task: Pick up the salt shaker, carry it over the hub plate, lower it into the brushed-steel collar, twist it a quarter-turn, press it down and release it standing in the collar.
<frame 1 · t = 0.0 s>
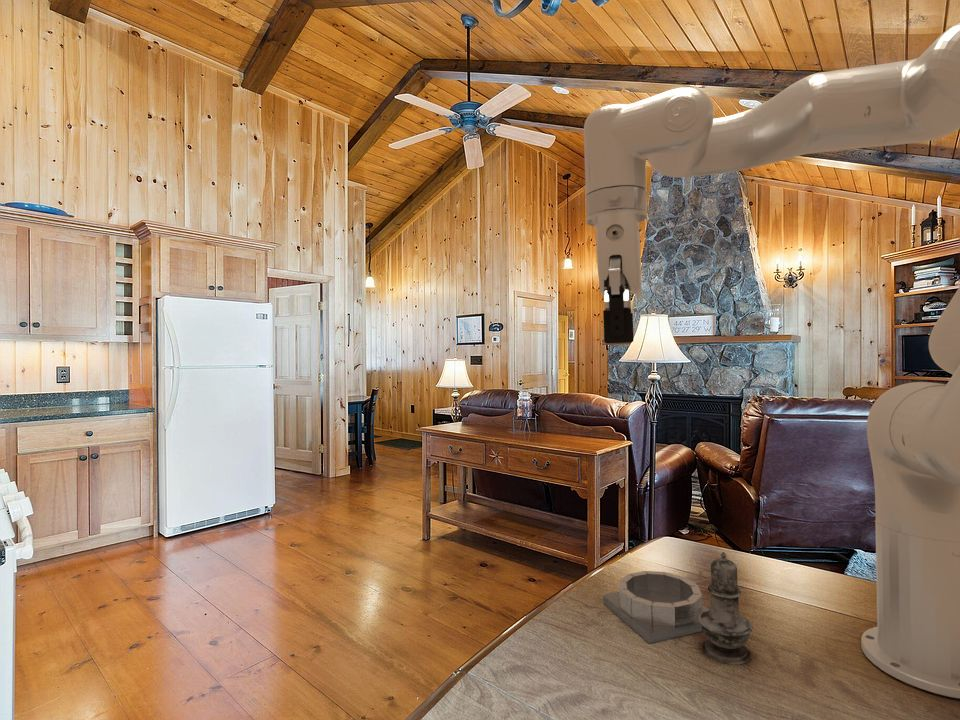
hand: (619, 342, 68), 37 cm above the table, tool pointing down, fingers open, 9 cm apart
salt shaker: (725, 652, 63), on the table
hub plate: (659, 614, 72), on the table
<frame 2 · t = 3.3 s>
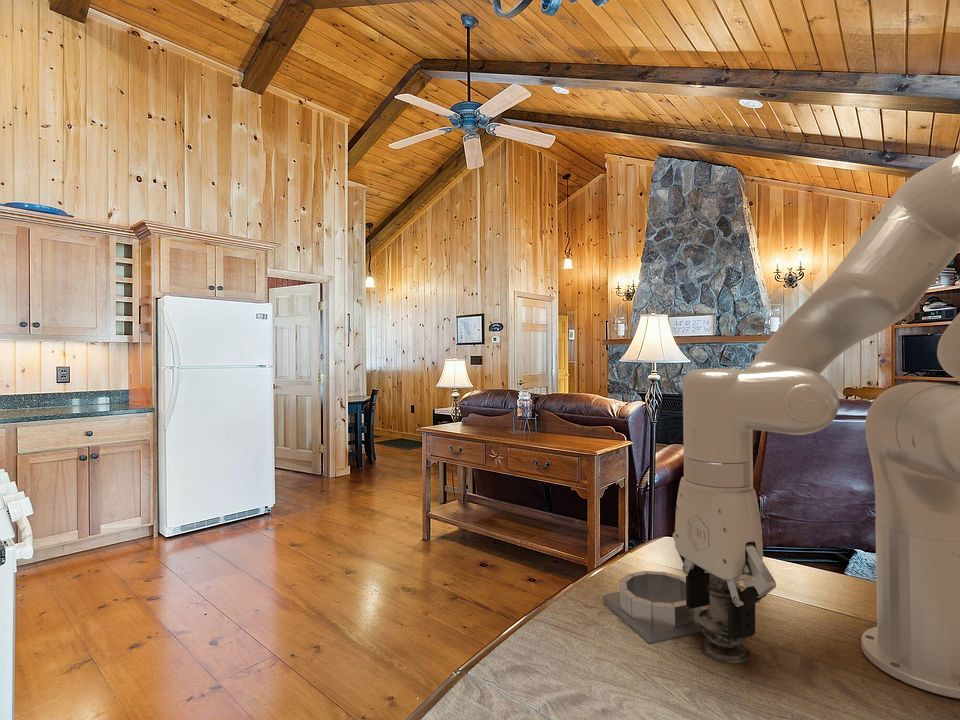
hand: (718, 619, 63), 4 cm above the table, tool pointing down, fingers open, 6 cm apart
salt shaker: (724, 651, 63), on the table, touching gripper
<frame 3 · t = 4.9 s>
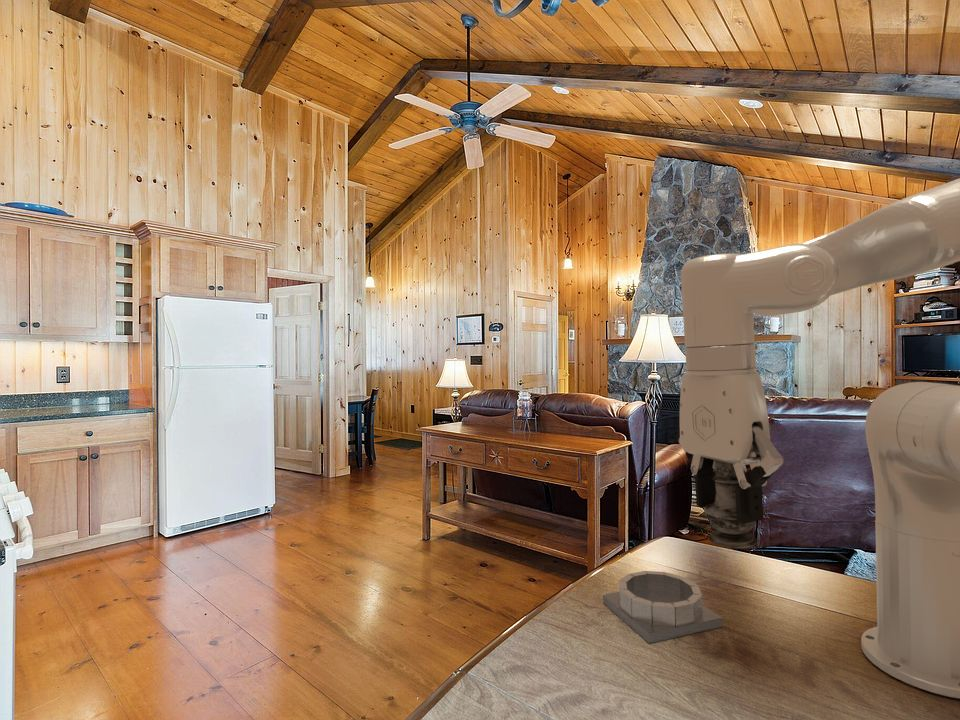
hand: (728, 511, 62), 17 cm above the table, tool pointing down, fingers closed on salt shaker, 5 cm apart
salt shaker: (732, 541, 63), point 13 cm above the table, touching gripper
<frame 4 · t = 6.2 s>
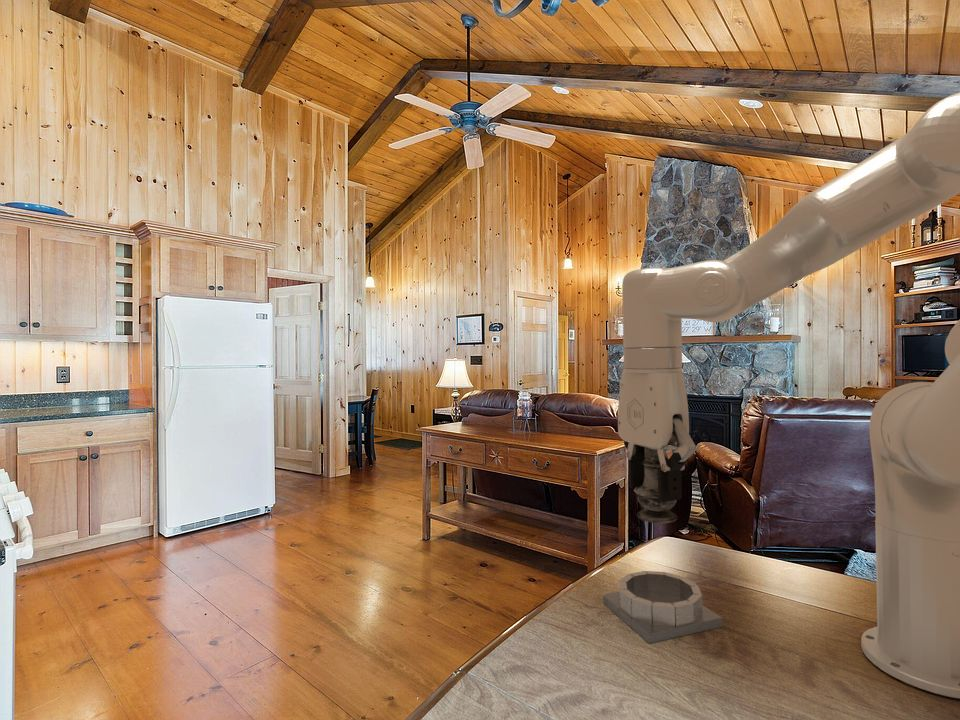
hand: (654, 492, 72), 17 cm above the table, tool pointing down, fingers closed on salt shaker, 5 cm apart
salt shaker: (656, 518, 72), point 13 cm above the table, touching gripper
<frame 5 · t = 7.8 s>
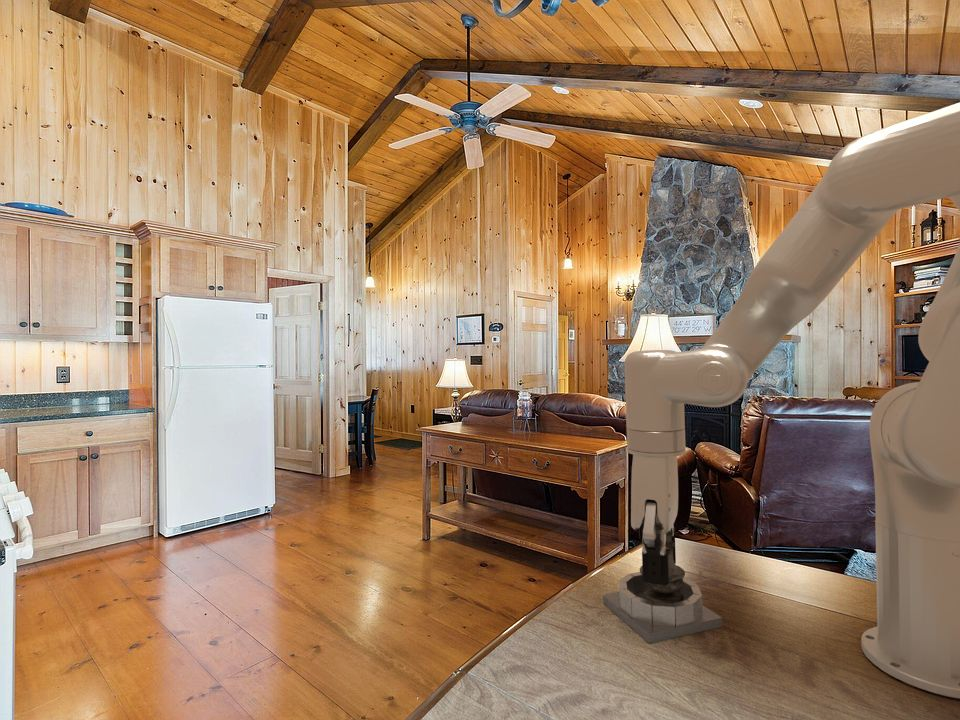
hand: (659, 571, 72), 6 cm above the table, tool pointing down, fingers closed on salt shaker, 5 cm apart
salt shaker: (663, 598, 72), point 2 cm above the table, touching gripper
when the fingers open (5 cm above the table, at t = 9.1 s): salt shaker stays where it is, resting on hub plate.
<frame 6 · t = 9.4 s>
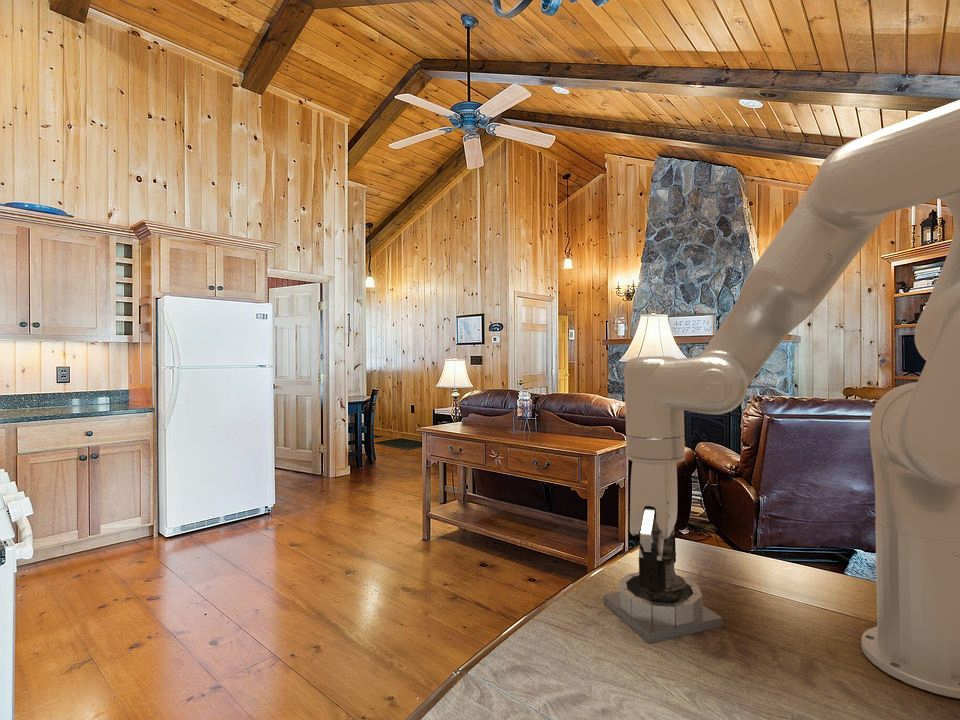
hand: (658, 573, 72), 6 cm above the table, tool pointing down, fingers open, 8 cm apart
salt shaker: (663, 607, 72), point 1 cm above the table, touching hub plate
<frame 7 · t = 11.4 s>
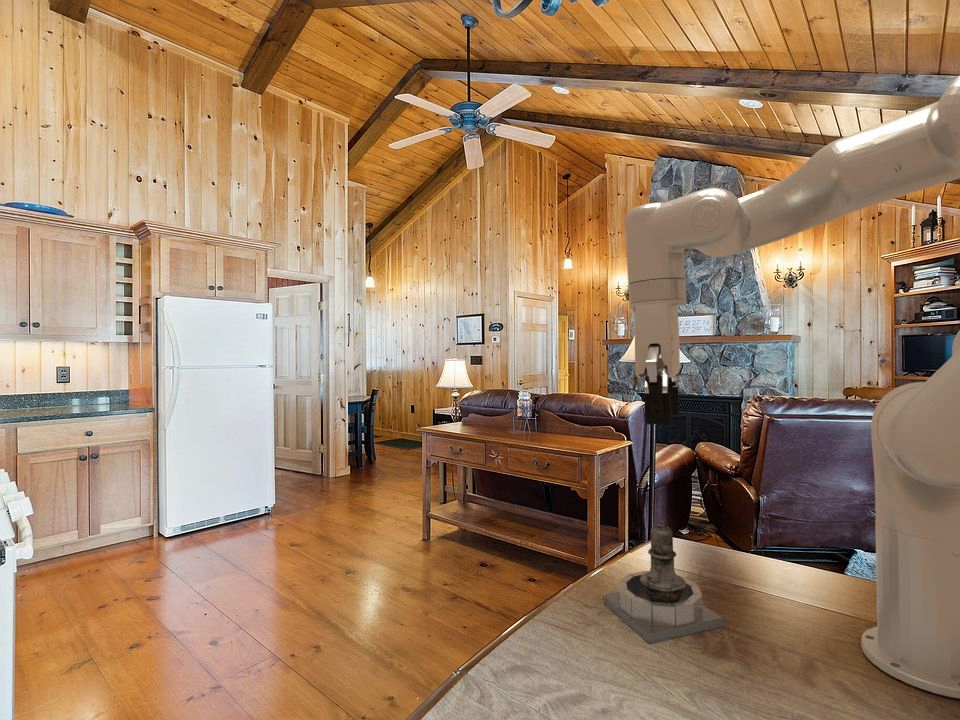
hand: (663, 418, 73), 27 cm above the table, tool pointing down, fingers open, 9 cm apart
nothing on the table moved.
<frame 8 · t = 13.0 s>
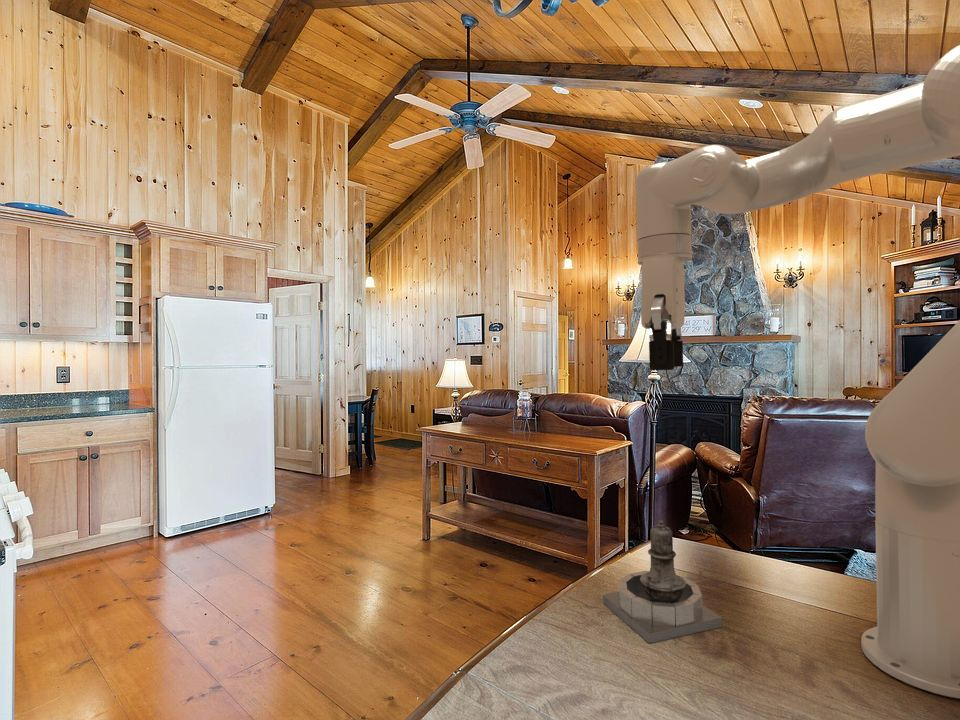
hand: (667, 368, 78), 33 cm above the table, tool pointing down, fingers open, 9 cm apart
nothing on the table moved.
at the end: salt shaker 0.6 cm off-centre on the hub plate, point 1.0 cm above the hub plate's base; salt shaker tilted 0°; the gripper is holding nothing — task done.
